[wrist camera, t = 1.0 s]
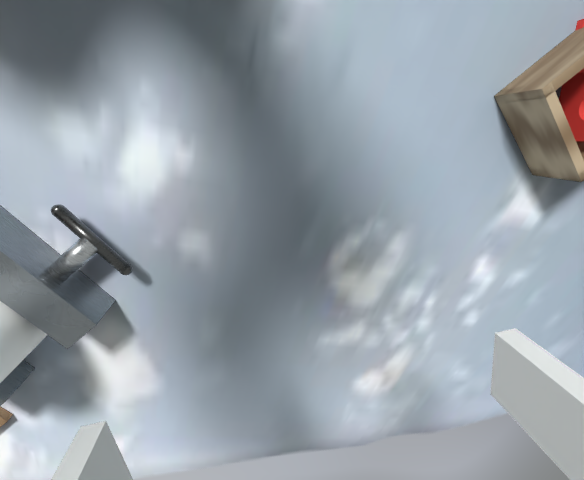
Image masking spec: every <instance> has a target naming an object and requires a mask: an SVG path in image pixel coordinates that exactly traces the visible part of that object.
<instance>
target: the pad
mask: <svg viewBox="0 0 584 480" xmlns="http://www.w3.org/2000/svg"><path fill="white" fill-rule="evenodd" d="M12 415H13V414H12V413H10V412H8V411H7V410H5V409H3V408H2V407H0V427H1V426H2V425H4V424H5V423H6V422H7V421H8V420H9V419H10V417H11V416H12Z"/></svg>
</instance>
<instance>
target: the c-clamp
mask: <svg viewBox="0 0 584 480" xmlns="http://www.w3.org/2000/svg"><path fill="white" fill-rule="evenodd" d="M51 213H52V214H53V215H54V216H55V217H56V218H57V219H58V220H59V221H61V222H62V223H63V224H64V225H65V226H66V227H68V228H69V229H70V230H71V231H72V232H73V233H75V234H76V235H77V236H78V237H79V238H80V239H79V240H78V241H77V242H76V243H75V244H73V245H72V246H71V247H70V248H69V249H68V250H67V251H66V252H64V253H63V254H62V255H60V254H59V253H58V252H56V251H55V250H54V249H53V248H51V247H50V246H49V245H48V244H47V243H45V242H44V241H43V240H42V239H40V238H39V237H38V236H37V235H36V234H34V233H33V232H32V231H31V230H29V229H28V228H27V227H26V226H25V225H23V224H22V223H21V222H20V221H18V220H17V219H16V218H15V217H14V216H12V215H11V214H10V213H9V212H8V211H6V210H5V209H4V208H3V207H1V206H0V301H1V302H2V303H4V304H5V305H7V306H8V307H9V308H11V309H12V310H14V311H15V312H16V313H18V314H19V315H21V316H22V317H23V318H25V319H26V320H28V321H29V322H30V323H32V324H33V325H35V326H36V327H37V328H39V329H40V330H41V331H43V332H44V333H46V334H47V335H48V336H50V337H51V338H53V339H54V340H55V341H57V342H58V343H60V344H61V345H62V346H64V347H65V348H67V349H68V348H69V347H71V346H72V345H73V344H74V343H75V342H77V341H78V340H79V339H80V338H81V337H82V336H84V335H85V334H86V333H87V332H88V331H90V330H91V329H92V328H93V327H94V326H96V325H97V323H98V322H99V321H100V319H101V318H102V317H103V316H104V314H105V313H106V312H107V311H108V309H109V308H110V307H111V305H112V304H113V303H114V302H115V299H114V298H112V297H111V296H110V295H109V294H108V293H106V292H105V291H104V290H103V289H101V288H100V287H99V286H98V285H97V284H95V283H94V282H93V281H92V280H90V279H89V278H88V277H87V276H86V275H84V274H83V273H82V272H81V271H79V270H78V269H79V268H80V267H82V266H83V265H84V264H85V263H86V262H87V261H88V260H90V259H91V258H92V257H93V256H94V255H95V254H96V253H98V254H99V255H100V256H101V257H103V258H104V259H105V260H106V261H107V262H108V263H109V264H111V265H112V266H113V267H114V268H115V269H116V270H118V271H119V272H120V273H121V274H123V275H129V274H130V273H131V272H132V270H133V268H132V266H131V265H130V264H129V263H128V262H127V261H126V260H124V259H123V258H122V257H121V256H120V255H119V254H118V253H117V252H115V251H114V250H113V249H112V248H111V247H110V246H109V245H107V244H106V243H105V242H104V241H103V240H102V239H101V238H100V237H98V236H97V235H96V234H95V233H94V232H93V231H92V230H90V229H89V228H88V227H87V226H86V225H85V224H84V223H82V222H81V221H80V220H79V219H78V218H77V217H76V216H75V215H73V214H72V213H71V212H70V211H69V210H68V209H67V208H65V207H64V206H63V205H54V206H53V207H52V209H51ZM34 369H35V368H34V367H33V366H31V365H30V364H28V363H27V362H25V361H24V360H23V361H22V362H21V363H20V364H19V365H18V366H17V367H16V368H15V369H14V370H13V371H12V372H11V373H10V374H9V375H8V376H7V377H6V378H5V379H4V380H3V381H2V382H1V383H0V406H1V405H2V404H3V403H4V402H5V401H6V400H7V399H8V398H9V397H10V396H11V395H12V394H13V392H14V391H15V390H16V389H17V388H18V387H19V386H20V385H21V384H22V382H23V381H24V380H25V379H26V378H27V377H28V376H29V375H30V373H31V372H32V371H33V370H34Z"/></svg>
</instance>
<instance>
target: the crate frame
mask: <svg viewBox="0 0 584 480" xmlns="http://www.w3.org/2000/svg"><path fill="white" fill-rule="evenodd" d="M583 68H584V27H583V28H581V29H578V30H575V31H574V32H573V33H572V34H571V35H569V36H568V37H567V38H566V39H564V40H563V41H562V42H561V43H559V44H558V45H557V46H556V47H554V48H553V49H552V50H551V51H549V52H548V53H547V54H546V55H544V56H543V57H542V58H541V59H539V60H538V61H537V62H536V63H534V64H533V65H532V66H531V67H530V68H528V69H527V70H526V71H525V72H523V73H522V74H521V75H520V76H518V77H517V78H516V79H515V80H513V81H512V82H511V83H510V84H508V85H507V86H506V87H505V88H503V89H502V90H501V91H500V92H498V93H497V94H496V95H495V96H494V97H495V99H496V101H497V103H498V105H499V107H500V109H501V111H502V113H503V115H504V117H505V120H506V122H507V124H508V126H509V128H510V130H511V132H512V134H513V136H514V138H515V140H516V142H517V144H518V146H519V148H520V150H521V152H522V154H523V157H524V159H525V161H526V163H527V165H528V167H529V169H530V171H531V173H532V175H536V176H543V177H550V178H557V179H564V180H571V181H578V182H582V181H584V141H576V140H575V138H574V136H573V133H572V131H571V128H570V126H569V123H568V121H567V119H566V116H565V114H564V111H563V109H562V106H561V104H560V102H559V99H558V97H557V94H556V92H555V91H556V90H557V89H558V88H559V87H561V86H562V85H563V84H564V83H566V82H567V81H568V80H569V79H571V78H572V77H573V76H575V75H576V74H577V73H578V72H580V71H581V70H582V69H583Z"/></svg>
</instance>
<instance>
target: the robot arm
mask: <svg viewBox="0 0 584 480" xmlns="http://www.w3.org/2000/svg"><path fill="white" fill-rule="evenodd" d="M491 395H492V396H493V398H494V399H495V400H496V401H497V402H498V403H499V404H500V405H501V406H502V407H503V408H504V409H505V410H506V411H507V413H508V414H509V415H510V416H511V417H512V418H513V419H514V420H515V421H516V422H517V423H518V424H519V425H520V426H521V427H522V429H523V430H524V431H525V432H526V433H527V434H528V435H529V436H530V437H531V438H532V439H533V440H534V441H535V442H536V444H537V445H538V446H539V447H540V448H541V449H542V450H543V451H544V452H545V453H546V454H547V455H548V456H549V457H550V459H552V461H553V462H554V463H555V464H556V465H557V466H558V467H559V468H560V469H561V470H562V471H563V472H564V474H565V475H566V476H567V477H568V478H569V479H570V480H584V378H583V377H582V376H580V375H579V374H577V373H576V372H575V371H573V370H572V369H571V368H569V367H568V366H566V365H565V364H564V363H562V362H561V361H560V360H558V359H557V358H556V357H554V356H553V355H551V354H550V353H549V352H547V351H546V350H545V349H543V348H542V347H540V346H539V345H538V344H536V343H535V342H534V341H532V340H531V339H529V338H528V337H527V336H525V335H524V334H523V333H521V332H520V331H518V330H517V329H516V328H515V329H510V330H506V331H502V332H497V333H495V341H494V354H493V367H492V380H491ZM51 480H133V479H132V476H131V474H130V472H129V470H128V468H127V465H126V463H125V461H124V459H123V457H122V455H121V452H120V450H119V448H118V446H117V444H116V442H115V439H114V437H113V435H112V433H111V431H110V429H109V426H108V424H107V422H106V421H103V422H98V423H94V424H89V425H85V426H81V427H80V428H79V430H78V432H77V434H76V436H75V437H74V439H73V441H72V443H71V445H70V446H69V448H68V450H67V452H66V454H65V456H64V457H63V459H62V461H61V463H60V465H59V466H58V468H57V470H56V472H55V474H54V475H53V477H52V479H51Z"/></svg>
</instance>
